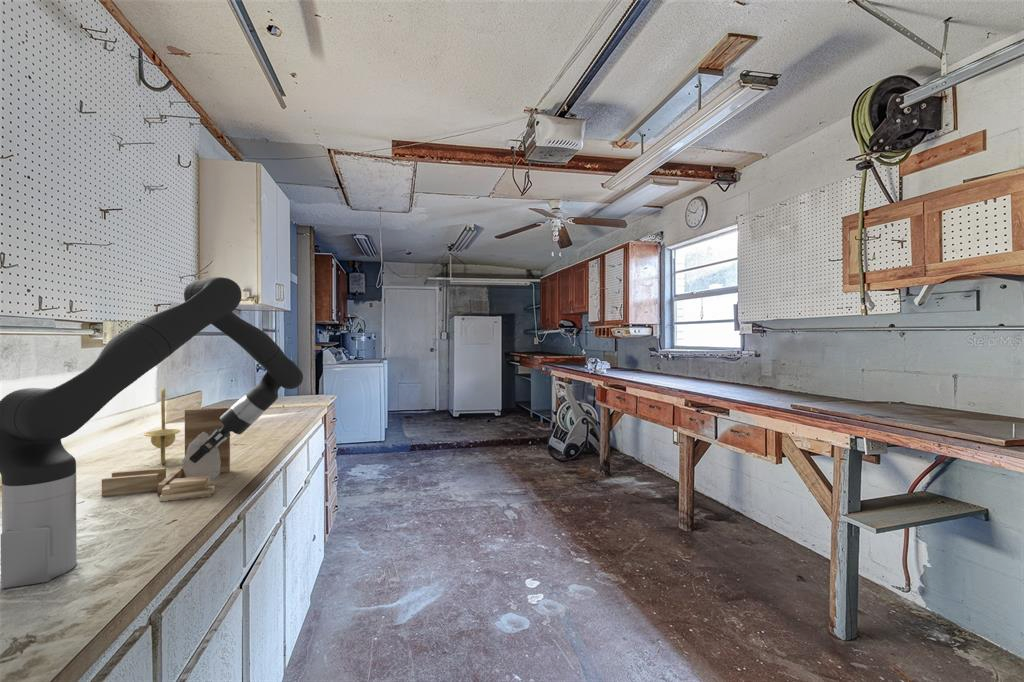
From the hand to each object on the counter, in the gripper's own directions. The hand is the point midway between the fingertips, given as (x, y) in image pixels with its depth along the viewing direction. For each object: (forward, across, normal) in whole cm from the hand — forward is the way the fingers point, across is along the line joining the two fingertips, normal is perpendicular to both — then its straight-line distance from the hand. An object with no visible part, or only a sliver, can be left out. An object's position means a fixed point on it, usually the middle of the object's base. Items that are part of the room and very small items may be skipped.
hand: (196, 456), depth 127 cm
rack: (+6, -3, +5) cm, 9 cm away
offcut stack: (+6, +9, +6) cm, 12 cm away
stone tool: (+5, 0, +7) cm, 8 cm away
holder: (+16, -2, -5) cm, 17 cm away
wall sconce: (+18, -30, -6) cm, 35 cm away
